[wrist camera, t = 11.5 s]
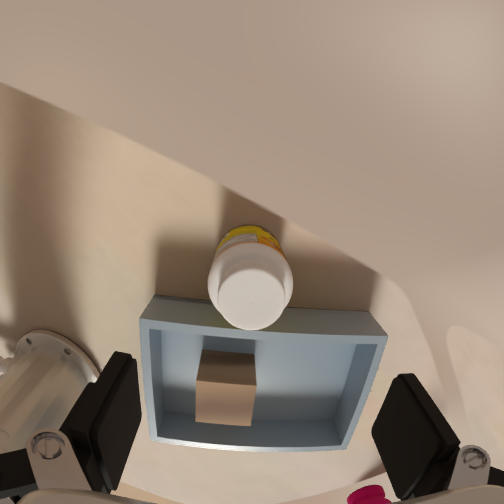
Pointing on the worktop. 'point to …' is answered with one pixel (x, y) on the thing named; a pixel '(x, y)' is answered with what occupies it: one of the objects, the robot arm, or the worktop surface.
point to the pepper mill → (368, 496)
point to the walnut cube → (225, 388)
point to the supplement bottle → (250, 278)
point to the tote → (261, 375)
